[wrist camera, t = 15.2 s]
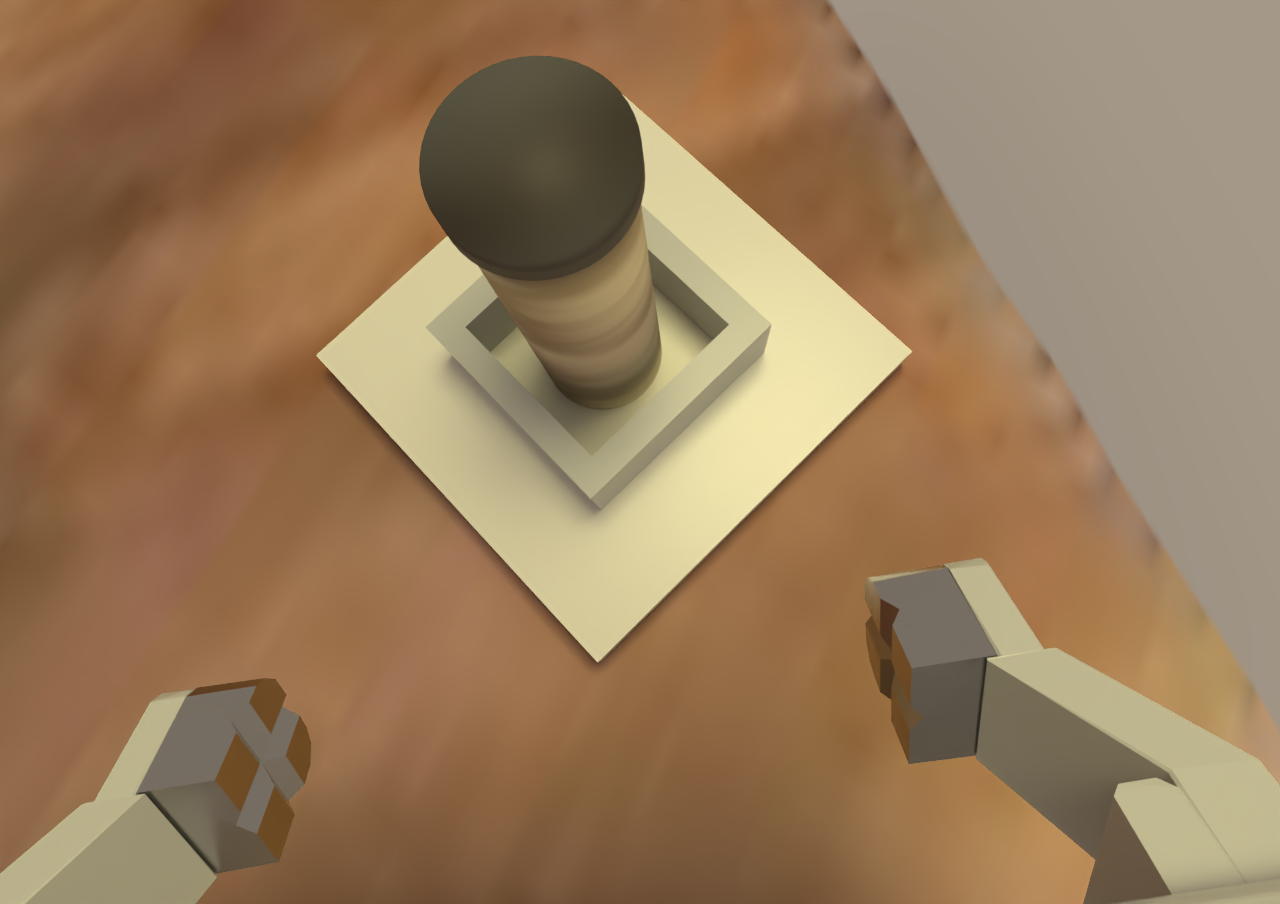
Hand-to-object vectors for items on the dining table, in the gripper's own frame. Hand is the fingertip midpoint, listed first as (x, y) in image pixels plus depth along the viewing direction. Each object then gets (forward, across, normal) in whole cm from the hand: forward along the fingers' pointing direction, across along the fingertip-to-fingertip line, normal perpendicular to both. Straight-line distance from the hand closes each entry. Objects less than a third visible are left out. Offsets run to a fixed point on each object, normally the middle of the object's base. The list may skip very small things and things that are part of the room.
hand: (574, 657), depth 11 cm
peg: (+20, 0, +5) cm, 20 cm away
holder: (+21, 0, +6) cm, 21 cm away
